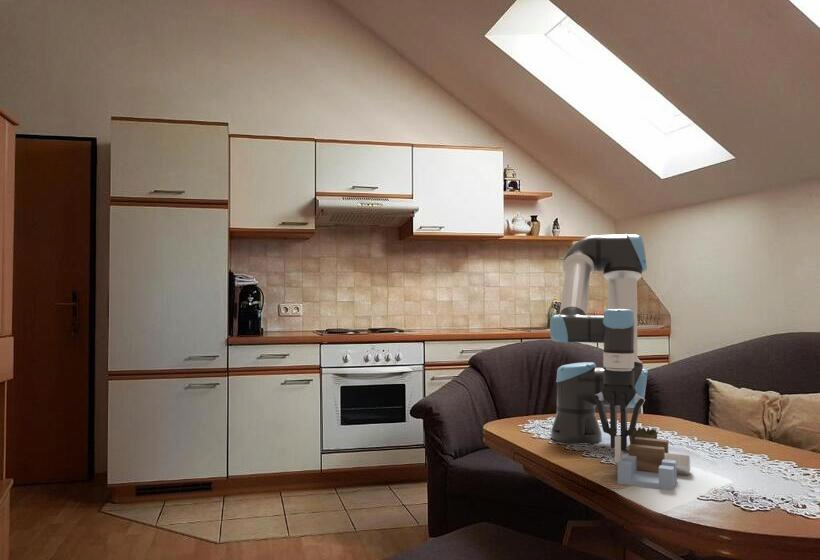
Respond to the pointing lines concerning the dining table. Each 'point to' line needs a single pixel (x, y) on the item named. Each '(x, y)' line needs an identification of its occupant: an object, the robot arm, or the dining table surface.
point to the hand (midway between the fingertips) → (618, 461)
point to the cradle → (647, 474)
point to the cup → (643, 434)
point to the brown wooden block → (648, 453)
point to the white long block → (681, 460)
